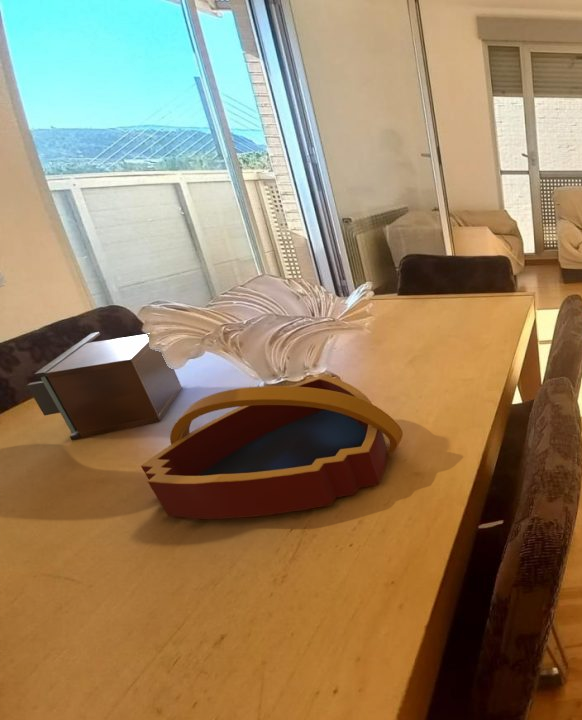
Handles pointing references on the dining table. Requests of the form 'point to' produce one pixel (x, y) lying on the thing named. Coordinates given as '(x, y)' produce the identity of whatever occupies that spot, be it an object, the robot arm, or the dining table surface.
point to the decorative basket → (273, 451)
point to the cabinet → (112, 384)
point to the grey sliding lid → (49, 400)
